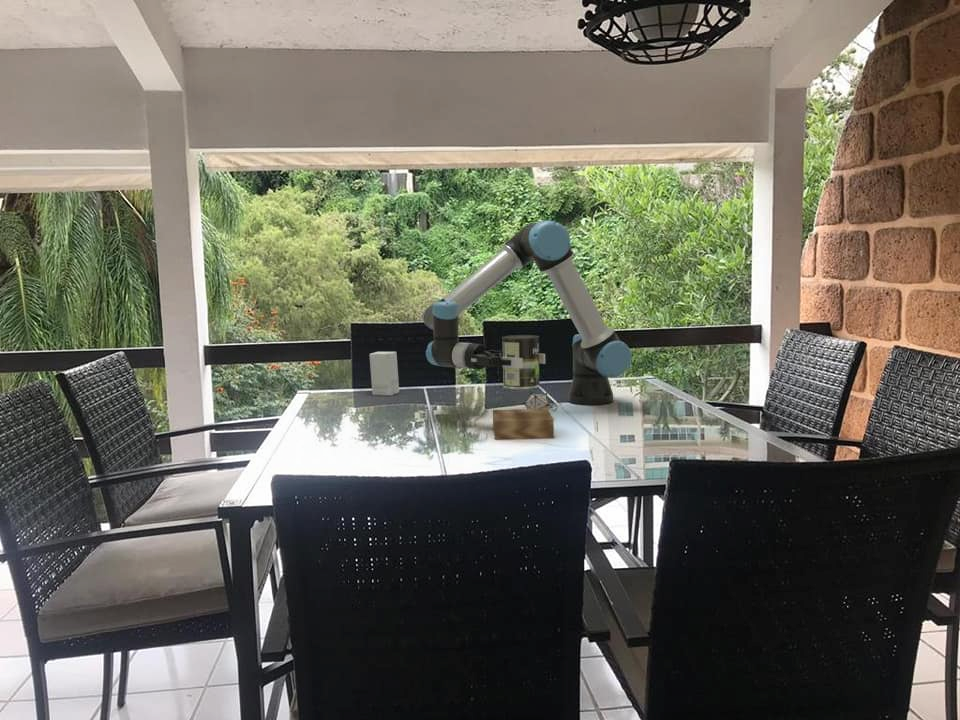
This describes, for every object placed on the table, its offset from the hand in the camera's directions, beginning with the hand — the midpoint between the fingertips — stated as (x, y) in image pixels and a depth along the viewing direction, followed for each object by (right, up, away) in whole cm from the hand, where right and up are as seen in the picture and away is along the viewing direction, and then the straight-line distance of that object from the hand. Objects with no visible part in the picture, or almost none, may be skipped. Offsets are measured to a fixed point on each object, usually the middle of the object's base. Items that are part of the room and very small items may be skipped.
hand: (533, 361), depth 214 cm
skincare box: (-50, -13, +73) cm, 89 cm away
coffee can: (-3, -7, +4) cm, 9 cm away
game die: (+3, -18, +23) cm, 29 cm away
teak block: (-3, -20, +5) cm, 21 cm away
